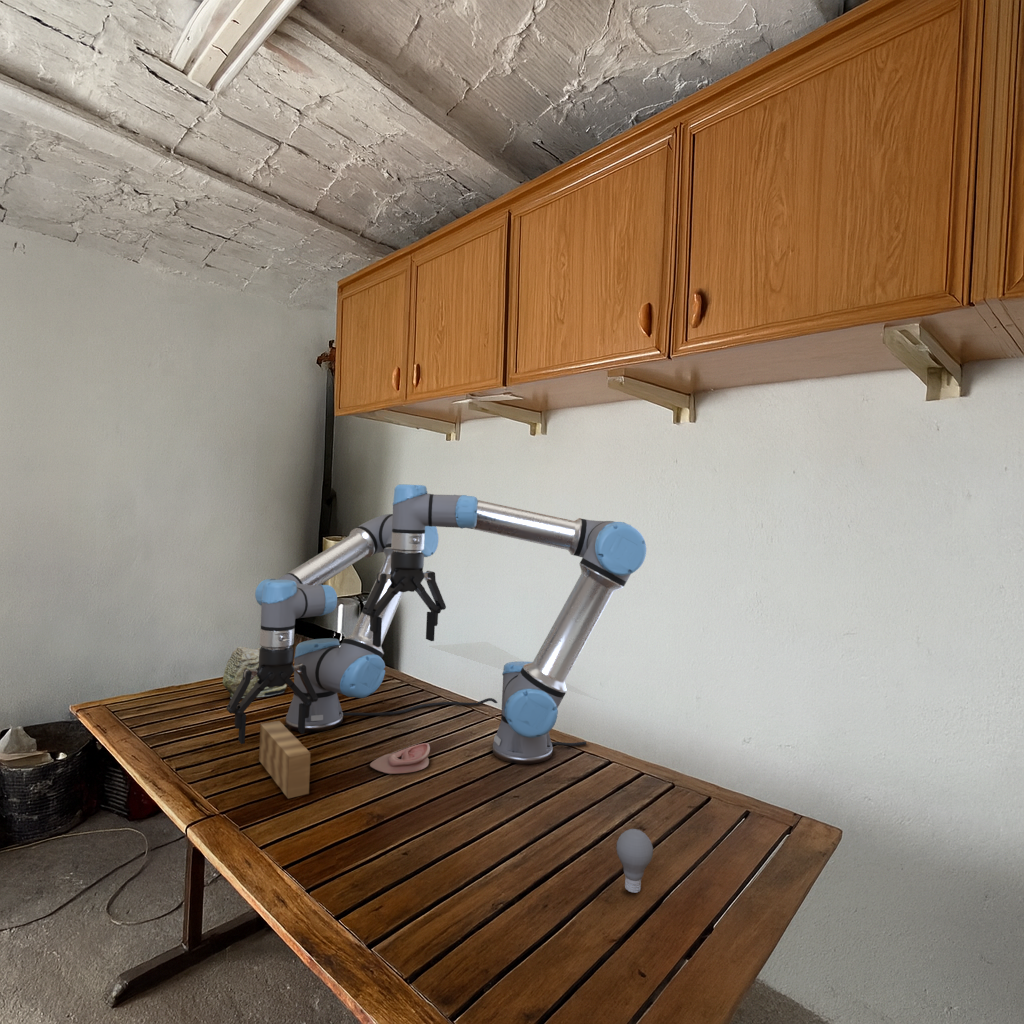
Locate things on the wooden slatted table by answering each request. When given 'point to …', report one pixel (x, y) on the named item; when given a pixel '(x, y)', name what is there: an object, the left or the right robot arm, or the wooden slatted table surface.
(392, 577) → the right robot arm
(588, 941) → the wooden slatted table surface
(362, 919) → the wooden slatted table surface
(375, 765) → the anatomical model
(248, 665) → the fossil
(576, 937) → the wooden slatted table surface
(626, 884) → the light bulb
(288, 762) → the bar
